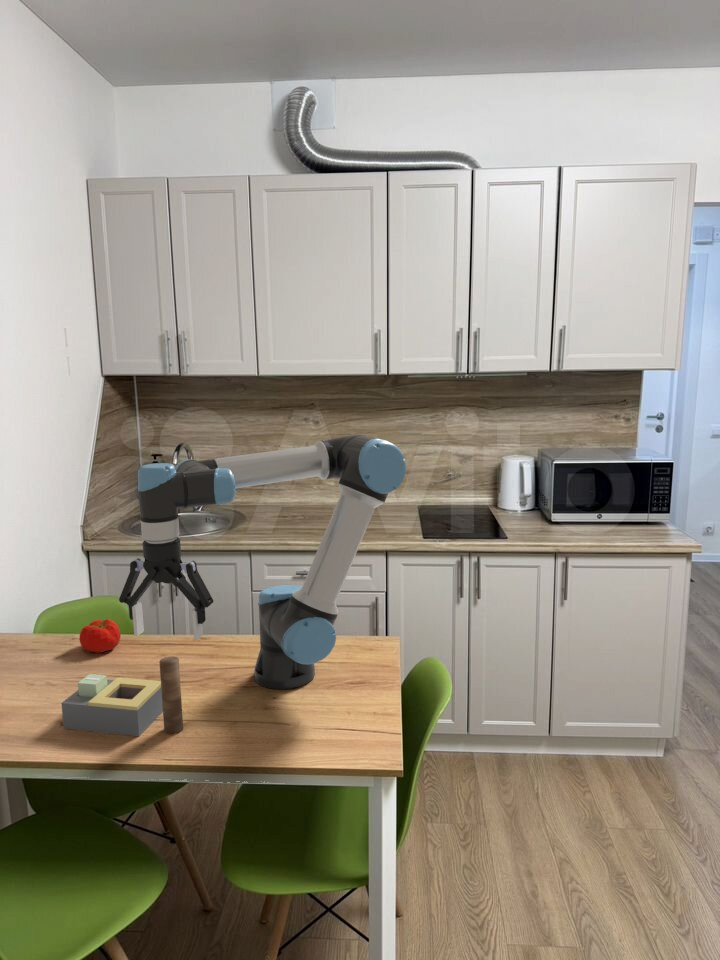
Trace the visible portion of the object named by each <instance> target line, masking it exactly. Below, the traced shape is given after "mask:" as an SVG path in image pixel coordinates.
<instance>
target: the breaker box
mask: <svg viewBox="0 0 720 960" xmlns="http://www.w3.org/2000/svg"><path fill="white" fill-rule="evenodd" d="M107 684H108V686H107V687H106V688H104V689H103V690H102V691H101V692H100V693H98V694H97V695H96V696H95V697H94V698H93V697H82V696H79V689H77V690H76V691H74V692H73V693H72V694H71V695H69V696H68V697H67V698H66V699H64V700H63V701H62V702H61V712H62V713H61V714H62V722H63V729H67V730H75V731H84V732H95V733H102V734H103V733H104V734H112V735H113V734H115V735H122V736H132V737H140V736H141V735H142V734H143V733H144V732H145V731H146V730H147V729H148V728H149V727H150V726H151V724H153V723H154V722H155V720H157V719H158V717H159V716H161V714H163V706H162V691H161V680H154V679H153V680H152V679H142V678H140V679H139V678H131V677H121V676H120V677H115V679H107ZM121 698H130V699H132V700H130V699H121Z"/></svg>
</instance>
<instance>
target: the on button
mask: <svg viewBox="0 0 720 960" xmlns="http://www.w3.org/2000/svg"><path fill="white" fill-rule="evenodd" d="M107 680H108V676H107V675H104V674H95V673H94V674H93V673H89V674H87V675H86V676H85V677H84V678H82V679H81V680H80V681H78V683H77V687H78V689H79V696H82V697H93V698H94V697H95V696H96V695H97V694H98V693H100V692H101V691H102V690H103V689H104V688H106V687H107V686H108V684H107ZM78 689H77V690H78Z"/></svg>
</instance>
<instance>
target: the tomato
mask: <svg viewBox="0 0 720 960" xmlns="http://www.w3.org/2000/svg"><path fill="white" fill-rule="evenodd" d="M78 640H79V643H80V646H81V647H82V649H83V650H85V651H87V652H92V653H97V654H100V653H104V652H106V651H111V650H114V649H115V648H116V647H118V645H119V644H120V640H121V630H120V628H119V626H118V624H117V623H116V622H114V621H113V620H112V619H109V618H108V619H105V620H104V619H103V620H101V619H95V620H93V621H92V622H90V624H88V625H86V626H83V628H82V629H81V631H80V633H79V639H78Z"/></svg>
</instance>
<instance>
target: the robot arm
mask: <svg viewBox="0 0 720 960" xmlns="http://www.w3.org/2000/svg"><path fill="white" fill-rule="evenodd" d="M404 456H405V455H404V453H402V451H401V449H400V448H399V447H398V446H396V444H394V443H392V442H390V441H388V440H385V439H382V438H376V437H372V436H367V435H365V434H364V435H362V434H351V435H347V436H346V435H345V436H339V437H335V438H334V437H333V438H329V439H324V440H323V439H322V440H318V441H316V442H315V443H314V444H313V445H309V446H302V447H301V446H300V447H296V448H295V447H294V448H286V449H279V450H270V451H264V452H255V453H250V454H242V455H241V454H239V455H233V456H226V457H219V458H211V459H209V458H208V459H202V460H196V459H184V460H182V461H180V462H178V463H177V464H176V465H174V464H172V463H166V462H161V463H159V462H158V463H156V462H155V463H148V464H144V465H142V466H140V467H139V468H138V470H137V488H136V489H137V495H138V504H139V505H138V506H139V514H140V528H141V529H140V530H141V539H142V540H143V542H142V551H143V555H142V556H143V558H144V560H141V558H139V557H138V558H136V559H133V560H132V561H131V562H130V564H129V574H128V576H127V578H126V581H125V584H124V587H123V588H122V591H121V594H119V595H120V596H119V598H118V602H119V603H122V604H126V605H127V607H128V614H129V615H128V616H129V619H130V620H131V621H132V624H133V633H134V634H133V635H134V637H138V636H140V635H141V634H143V632H145V629H144V628H145V627H144V617H143V616H144V615H143V613H144V612H143V605H142V602H139V600H140V599H141V597H142V596H143V595H144V593H146V591H147V590H148V588H149V587H150V586H151V584H153V582H154V583H155V584H161V583H164V584H167V585H169V584H171V583H172V584H173V586H174V587H177V589H178V590H179V591H180V593H182V595H184V597H185V598H186V599H187V600H188V601H189V602H190V604H191V605H192V606H193V607H194V608H193V609H191V615H192V616H191V617H192V630H193V640H194V641H198V640H199V639H200V638H202V637H203V636H204V631H203V630H204V629H203V624H204V623H205V622H206V608H209V607H210V606H211V605H212V604H213V603H214V599H213V597H212V595H211V593H210V591H209V590H208V588H207V586H206V584H205V582H204V580H203V578H202V576H201V575H200V573H199V571H198V566H197V562H196V561H195V560H191V561H190V562H183V561H182V558H181V557H182V549H181V547H182V546H181V539H180V538H179V536H180V534H181V533H180V523H179V522H180V521H179V520H180V519H179V509H187V508H196V507H205V506H208V507H209V506H216V505H217V506H220V505H223V504H229V503H232V502H233V501H234V500H235V497H236V489H240V488H249V487H254V486H255V487H256V486H262V485H267V484H268V485H269V484H274V483H281V482H288V481H295V480H303V479H309V478H314V477H317V478H319V479H320V480H322V481H323V480H332V479H334V480H335V479H337V480H339V481H338V483H337V486H338V488H339V492H340V495H339V498H338V500H337V502H336V505H335V507H334V510H333V513H332V514H331V518H330V519H329V522H328V524H327V526H326V529H325V532H324V534H323V535H322V538H321V541H320V543H319V545H318V548H317V550H316V553H315V555H314V558H313V560H312V563H311V565H310V567H309V570H308V573H307V575H306V577H305V579H304V582H303V584H302V586H301V585H296V584H287V585H286V584H283V585H276V586H275V585H274V586H271V587H268V588H265V589H263V590H261V591H260V592H259V594H258V603H257V606H258V618H259V619H258V622H259V624H258V625H259V642H260V646H259V647H260V649H259V652H258V655H257V659H256V662H255V665H254V671H253V672H254V680H255V682H256V683H257V684H258V685H260V686H262V687H265V688H267V689H271V690H272V689H274V690H289V689H295V688H298V687H302V686H305V685H306V684H307V685H308V683H310V682H311V681H312V680H313V679H314V677H315V675H316V671H315V670H316V669H315V664H317V663H318V662H320V661H323V660H324V659H326V658H327V657H328V656H329V655H330V654H331V652H332V651H333V650H334V648H335V645H336V642H337V633H336V629H335V622H336V620H337V618H338V615H339V610H338V607H337V605H336V604H337V601H338V598H339V595H340V593H341V590H342V588H343V586H344V585H345V581H346V578H347V576H348V575H349V572H350V569H351V567H352V564H353V562H354V560H355V557H356V555H357V553H358V550H359V547H360V546H361V542H362V540H363V538H364V535H365V534H366V531H367V528H368V526H369V523H370V521H371V519H372V516H373V514H374V513H375V509H376V508H378V507H380V506H382V505H384V504H385V502H386V500H387V497H388V495H389V493H392V492H393V491H395V490H397V489H398V488H399V487H400V486H401V485H402V483H403V482H404V480H405V476H406V472H407V464H406V459H405V457H404ZM143 569H144V571H145V572H146V573H147V575H146V576H145V577H144V579H143V580H142V582H140V584H139V586H138V588H137V589H136V590H135V591H134V589H135V586H136V583H137V581H138V579H139V577H140V576H139V575H140V573H141V571H142V570H143ZM183 570H184V573H185V574H186V576H187V577H188V579H189V581H188V580H187V579H186V576H185V575H184V574H183V573H182V571H183ZM190 583H191V584H190ZM133 591H134V592H133Z"/></svg>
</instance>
